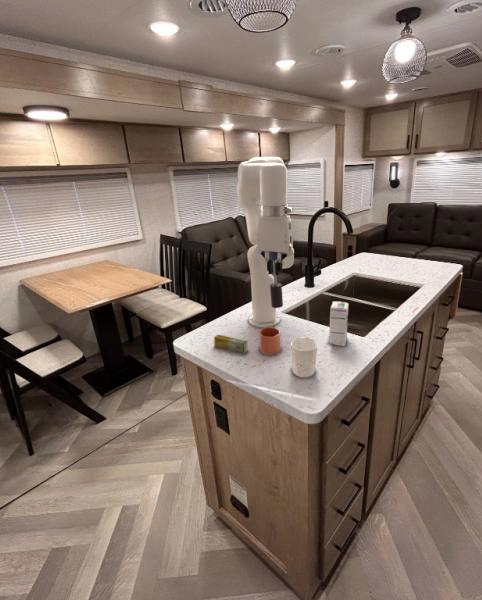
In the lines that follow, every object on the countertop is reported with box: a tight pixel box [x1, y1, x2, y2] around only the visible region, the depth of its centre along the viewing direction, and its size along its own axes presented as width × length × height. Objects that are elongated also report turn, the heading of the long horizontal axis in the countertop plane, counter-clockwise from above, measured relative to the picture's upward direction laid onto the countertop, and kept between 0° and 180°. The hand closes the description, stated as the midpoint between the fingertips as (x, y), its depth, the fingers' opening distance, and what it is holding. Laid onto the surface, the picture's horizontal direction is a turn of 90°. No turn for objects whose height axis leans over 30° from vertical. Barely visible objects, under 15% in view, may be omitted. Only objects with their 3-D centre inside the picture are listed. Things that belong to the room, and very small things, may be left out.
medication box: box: [213, 334, 248, 355], centre depth 111 cm, size 12×3×4 cm, turn 67°
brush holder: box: [258, 326, 282, 356], centre depth 109 cm, size 7×7×7 cm
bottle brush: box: [270, 251, 284, 309], centre depth 97 cm, size 4×4×21 cm
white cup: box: [290, 336, 319, 378], centre depth 97 cm, size 8×8×10 cm
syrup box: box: [328, 301, 350, 347], centre depth 112 cm, size 6×6×14 cm
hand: (274, 273), depth 98 cm, fingers closed on bottle brush
